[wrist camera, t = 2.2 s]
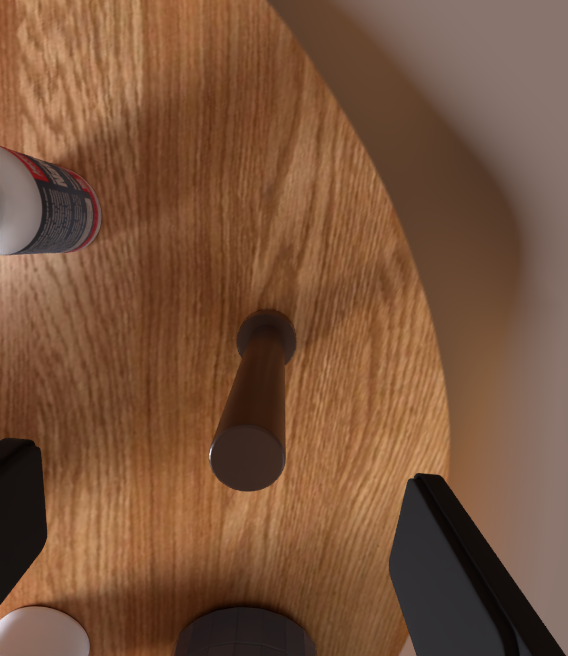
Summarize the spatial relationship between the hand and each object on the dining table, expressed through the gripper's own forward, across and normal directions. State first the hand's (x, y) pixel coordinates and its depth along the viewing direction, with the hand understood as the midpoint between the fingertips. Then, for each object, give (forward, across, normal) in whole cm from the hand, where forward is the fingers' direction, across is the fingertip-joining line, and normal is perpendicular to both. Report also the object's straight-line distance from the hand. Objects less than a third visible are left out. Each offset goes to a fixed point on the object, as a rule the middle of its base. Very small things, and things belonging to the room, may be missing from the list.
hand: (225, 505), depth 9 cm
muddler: (+16, -1, 0) cm, 16 cm away
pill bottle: (+16, +13, -7) cm, 22 cm away
